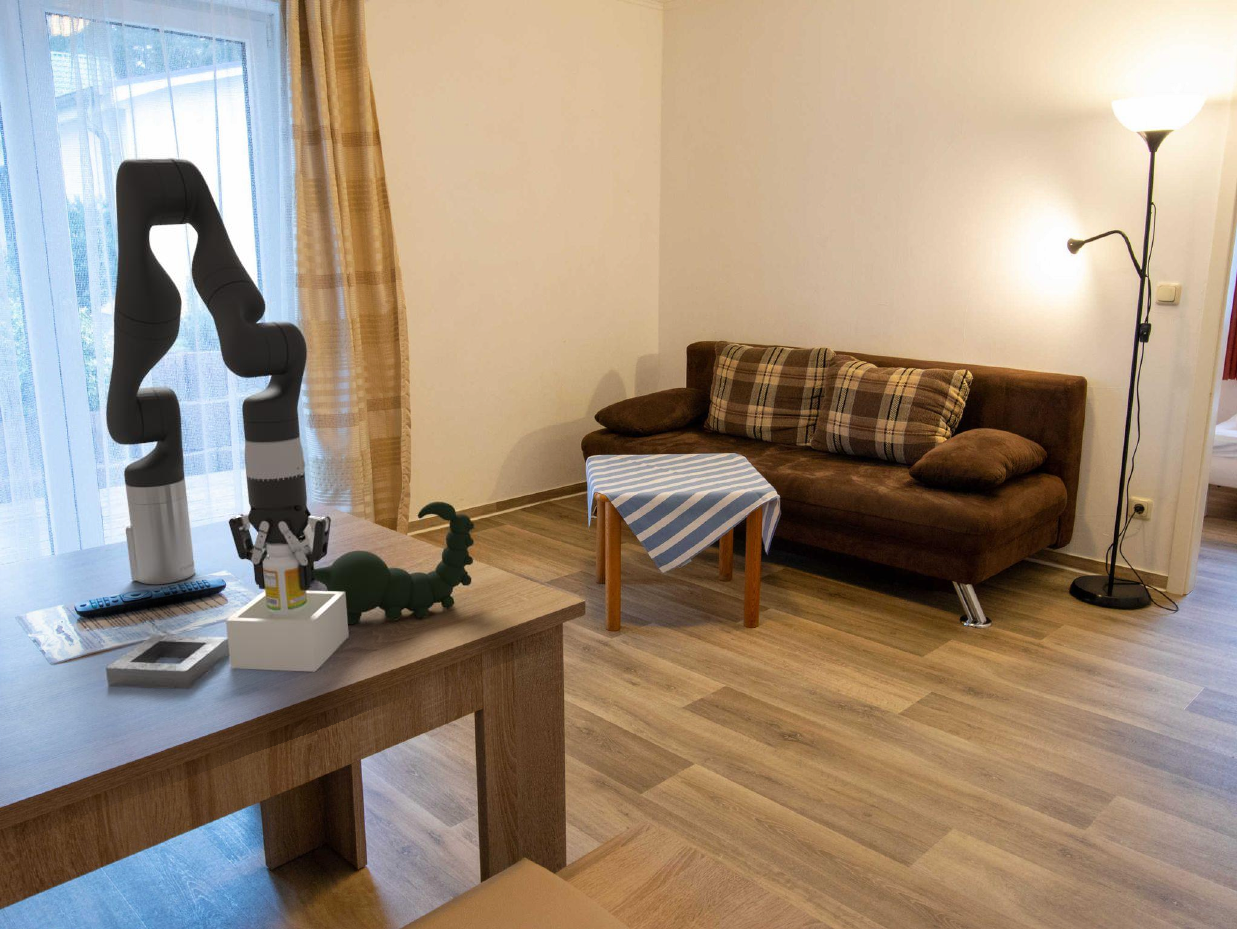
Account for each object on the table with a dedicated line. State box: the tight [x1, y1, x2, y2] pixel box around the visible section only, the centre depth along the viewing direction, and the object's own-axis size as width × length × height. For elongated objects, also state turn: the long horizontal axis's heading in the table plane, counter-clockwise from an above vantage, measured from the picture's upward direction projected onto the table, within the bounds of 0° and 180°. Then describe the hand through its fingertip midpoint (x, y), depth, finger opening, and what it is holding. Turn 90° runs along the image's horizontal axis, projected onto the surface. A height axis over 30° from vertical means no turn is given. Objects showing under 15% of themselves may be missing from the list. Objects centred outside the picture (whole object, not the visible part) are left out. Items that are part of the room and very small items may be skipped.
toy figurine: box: [314, 501, 475, 625], centre depth 146 cm, size 9×19×25 cm
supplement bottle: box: [263, 542, 307, 614], centre depth 132 cm, size 5×5×10 cm
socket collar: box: [105, 634, 230, 690], centre depth 129 cm, size 11×11×2 cm
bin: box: [225, 590, 349, 673], centre depth 134 cm, size 12×12×7 cm
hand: (285, 587), depth 133 cm, fingers closed on supplement bottle, 5 cm apart
